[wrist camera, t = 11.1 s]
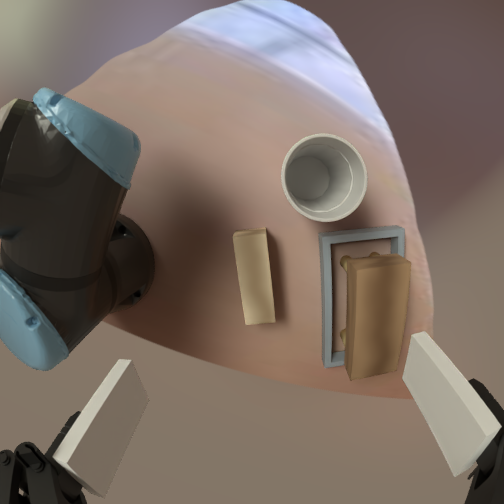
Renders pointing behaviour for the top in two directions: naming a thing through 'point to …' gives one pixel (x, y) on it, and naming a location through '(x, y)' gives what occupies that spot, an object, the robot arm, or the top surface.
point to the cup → (324, 177)
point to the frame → (326, 278)
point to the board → (375, 313)
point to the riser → (254, 275)
